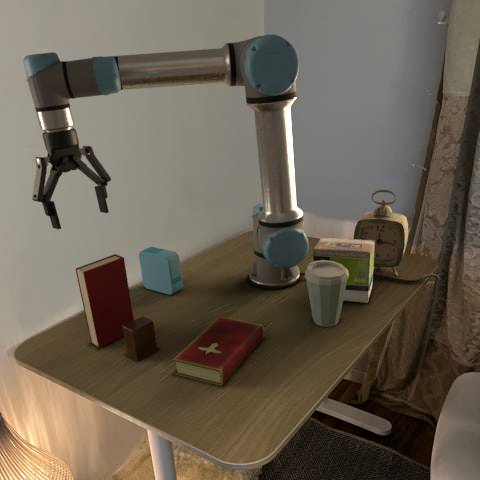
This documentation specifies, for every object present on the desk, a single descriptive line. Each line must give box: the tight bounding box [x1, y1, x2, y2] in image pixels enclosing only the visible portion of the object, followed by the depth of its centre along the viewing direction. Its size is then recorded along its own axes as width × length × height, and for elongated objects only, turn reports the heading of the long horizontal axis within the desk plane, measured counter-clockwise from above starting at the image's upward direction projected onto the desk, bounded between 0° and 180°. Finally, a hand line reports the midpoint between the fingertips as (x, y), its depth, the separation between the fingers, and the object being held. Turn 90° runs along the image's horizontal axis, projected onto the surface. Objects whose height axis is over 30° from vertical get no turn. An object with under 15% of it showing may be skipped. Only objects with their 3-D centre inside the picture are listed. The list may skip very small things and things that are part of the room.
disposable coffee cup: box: [304, 260, 349, 327], centre depth 128 cm, size 11×11×15 cm
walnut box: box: [122, 315, 159, 362], centre depth 121 cm, size 4×6×8 cm, turn 138°
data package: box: [138, 246, 184, 296], centre depth 152 cm, size 12×4×12 cm, turn 55°
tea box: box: [312, 237, 375, 304], centre depth 141 cm, size 15×10×15 cm
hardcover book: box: [172, 316, 265, 387], centre depth 119 cm, size 12×21×4 cm, turn 153°
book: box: [74, 253, 135, 349], centre depth 125 cm, size 20×11×4 cm
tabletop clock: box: [353, 189, 409, 278], centre depth 151 cm, size 14×9×25 cm, turn 67°
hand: (81, 220), depth 127 cm, fingers open, 13 cm apart
